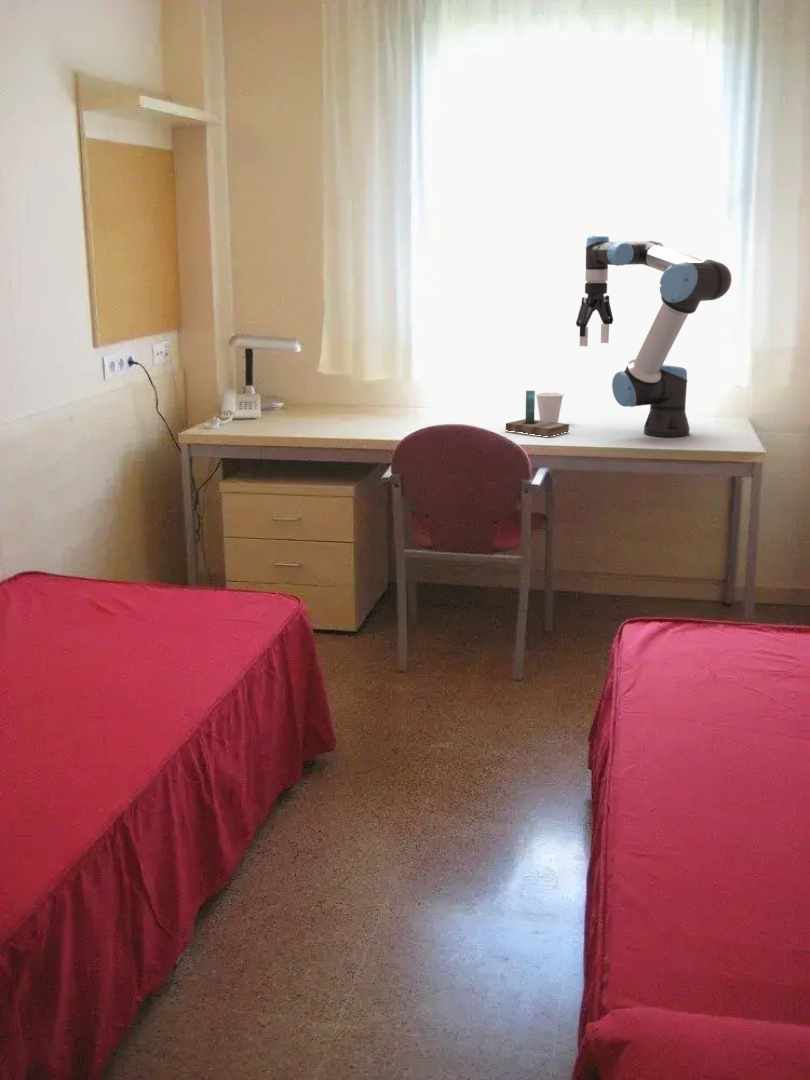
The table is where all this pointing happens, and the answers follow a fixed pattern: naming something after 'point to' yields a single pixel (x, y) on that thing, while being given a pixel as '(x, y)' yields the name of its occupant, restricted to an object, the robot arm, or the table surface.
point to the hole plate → (538, 427)
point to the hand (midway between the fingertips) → (594, 344)
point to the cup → (549, 405)
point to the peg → (530, 407)
